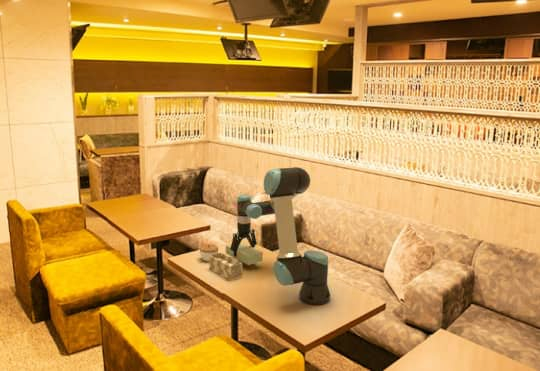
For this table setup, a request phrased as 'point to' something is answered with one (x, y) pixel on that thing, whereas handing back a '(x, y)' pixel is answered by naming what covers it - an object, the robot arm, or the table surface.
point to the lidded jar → (208, 251)
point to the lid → (246, 254)
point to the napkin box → (225, 266)
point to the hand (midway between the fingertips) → (243, 259)
